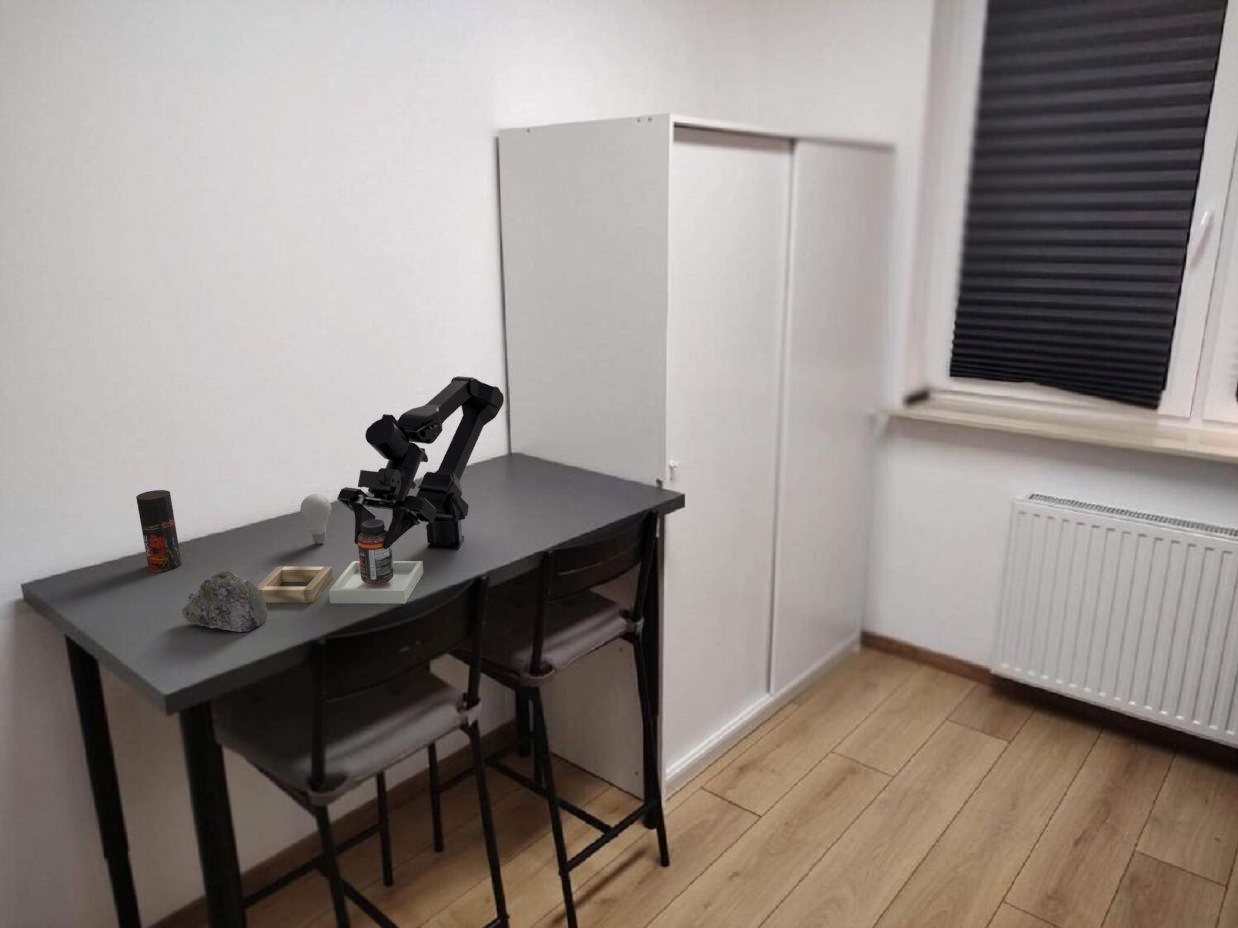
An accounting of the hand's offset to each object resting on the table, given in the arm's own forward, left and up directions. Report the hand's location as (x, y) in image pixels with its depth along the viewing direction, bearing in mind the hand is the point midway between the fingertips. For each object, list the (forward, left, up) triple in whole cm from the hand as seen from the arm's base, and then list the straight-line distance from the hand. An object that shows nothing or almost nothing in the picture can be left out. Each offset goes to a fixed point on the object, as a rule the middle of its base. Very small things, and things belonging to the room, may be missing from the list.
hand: (370, 546), depth 163 cm
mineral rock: (+22, +13, -9) cm, 27 cm away
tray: (0, -1, -9) cm, 9 cm away
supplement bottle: (0, -1, -7) cm, 7 cm away
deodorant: (+46, -11, -9) cm, 48 cm away
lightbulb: (+19, -23, -9) cm, 31 cm away
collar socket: (+15, 0, -9) cm, 17 cm away
